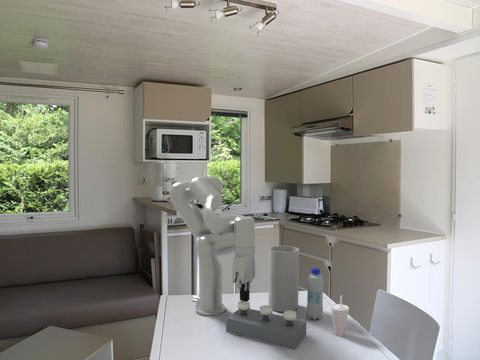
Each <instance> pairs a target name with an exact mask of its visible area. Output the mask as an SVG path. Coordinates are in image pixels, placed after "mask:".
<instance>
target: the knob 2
mask: <svg viewBox="0 0 480 360" xmlns="http://www.w3.org/2000/svg"><path fill="white" fill-rule="evenodd" d="M282 316H283V318H284V319H285V320H287V326H289V327H292V326H293V320H295V319H297V312H296V310H295V311H292V310H286V311H284V312H282Z"/></svg>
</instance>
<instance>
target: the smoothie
mask: <svg viewBox="0 0 480 360" xmlns="http://www.w3.org/2000/svg"><path fill="white" fill-rule="evenodd" d="M330 311H331V316H332V317H331V318H332V326H333V334H334V335H336V336H338V337H343V336H345V334H346V329H347V323H348V322H347V321H348V316H349V312H350V307H349V306H348V305H346V304H343V295H340V300H339V303H334V304H332V305H331V306H330Z"/></svg>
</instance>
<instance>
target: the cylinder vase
mask: <svg viewBox="0 0 480 360" xmlns="http://www.w3.org/2000/svg"><path fill="white" fill-rule="evenodd" d="M299 264H300V248H298V247H296V246H291V245H273V246H270V247H269V248H268V306H271V307H272V311H274V312H276V313H278V312H279V313H283V312H284V311H286V310H292V311H295V312H296V310H298V308H299V283H300V282H299V281H300V278H299V276H300V275H299V274H300V273H299V271H300V268H299V267H300V265H299Z"/></svg>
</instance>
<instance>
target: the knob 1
mask: <svg viewBox="0 0 480 360" xmlns="http://www.w3.org/2000/svg"><path fill="white" fill-rule="evenodd" d="M239 309H240V310H241V315H242V316H246V315H247V310H248V309H251V302H250V301H247V302H246V301H241V300H239V301H238V302H237V310H239Z"/></svg>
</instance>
